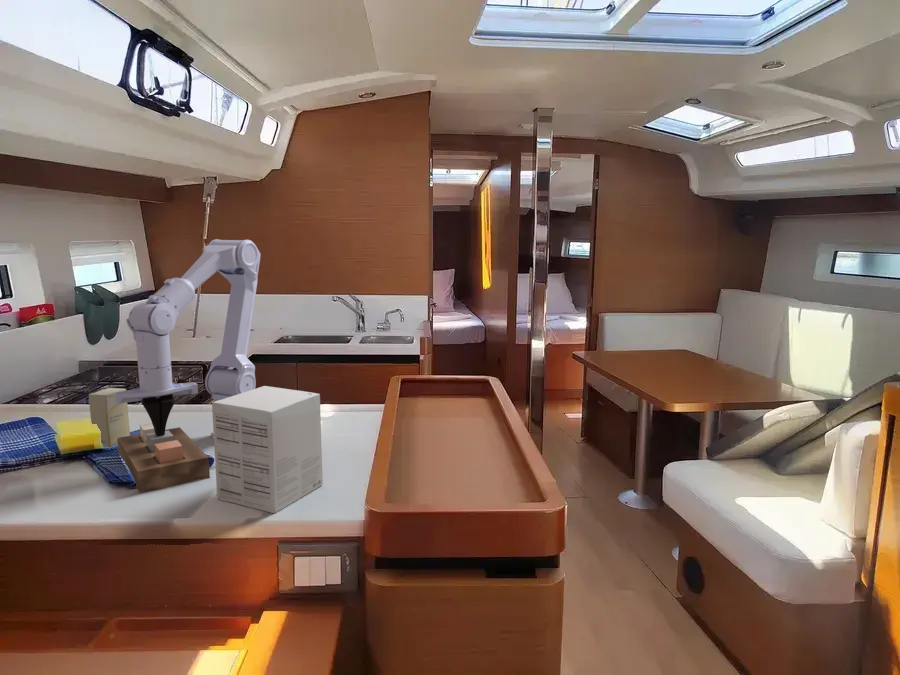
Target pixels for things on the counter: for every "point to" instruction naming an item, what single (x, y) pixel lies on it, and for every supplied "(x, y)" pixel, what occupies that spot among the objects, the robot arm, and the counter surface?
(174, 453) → the key terracotta
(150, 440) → the key slate
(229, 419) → the supplement box
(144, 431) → the key ivory
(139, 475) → the console
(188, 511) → the counter surface
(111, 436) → the skincare box
